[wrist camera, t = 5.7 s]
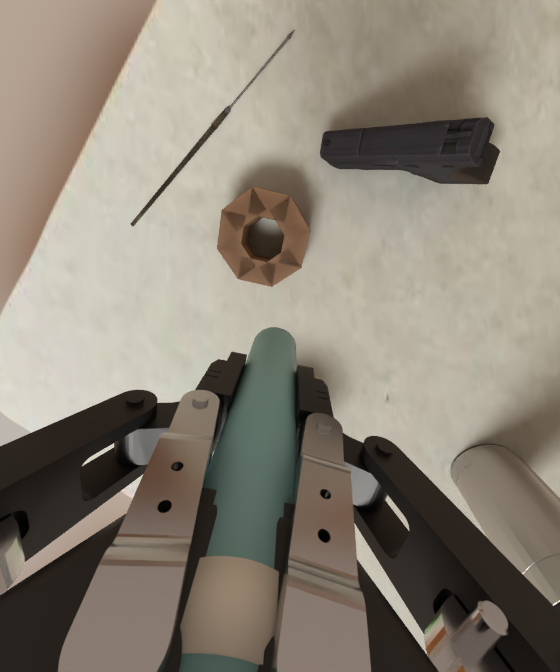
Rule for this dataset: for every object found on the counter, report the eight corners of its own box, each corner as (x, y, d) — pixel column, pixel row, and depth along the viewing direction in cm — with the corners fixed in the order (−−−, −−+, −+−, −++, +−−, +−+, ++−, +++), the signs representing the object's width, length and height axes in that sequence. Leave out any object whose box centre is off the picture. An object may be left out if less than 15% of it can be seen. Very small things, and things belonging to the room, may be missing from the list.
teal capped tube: (301, 331, 16) (325, 745, 3) (291, 371, 17) (281, 809, 4) (256, 322, 16) (99, 708, 3) (249, 362, 17) (107, 781, 4)
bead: (315, 204, 30) (317, 201, 27) (296, 285, 34) (295, 292, 30) (234, 186, 30) (225, 180, 26) (223, 268, 34) (213, 273, 30)
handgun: (487, 186, 27) (477, 157, 19) (358, 182, 34) (314, 160, 27) (501, 151, 26) (494, 105, 18) (364, 155, 33) (320, 124, 26)
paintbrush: (131, 223, 33) (129, 223, 32) (293, 28, 25) (292, 25, 25) (135, 227, 33) (132, 227, 32) (296, 34, 25) (296, 30, 25)
